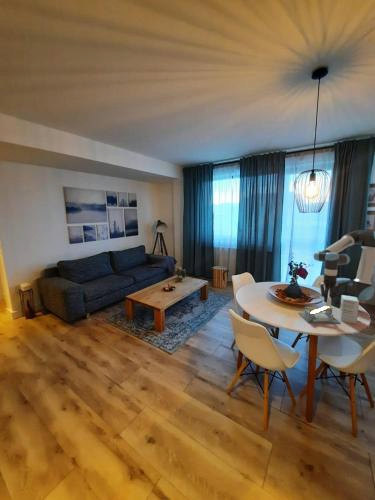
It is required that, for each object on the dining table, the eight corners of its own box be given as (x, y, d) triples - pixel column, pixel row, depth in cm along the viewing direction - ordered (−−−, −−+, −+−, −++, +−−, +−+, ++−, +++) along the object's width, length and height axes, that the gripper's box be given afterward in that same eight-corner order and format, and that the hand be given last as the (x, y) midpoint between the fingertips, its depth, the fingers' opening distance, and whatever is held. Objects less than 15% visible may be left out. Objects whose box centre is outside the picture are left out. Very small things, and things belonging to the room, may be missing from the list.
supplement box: (339, 315, 157) (341, 294, 155) (354, 318, 153) (356, 296, 150) (340, 321, 149) (342, 299, 147) (356, 324, 145) (359, 301, 142)
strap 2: (310, 316, 149) (310, 314, 148) (308, 314, 152) (307, 312, 152) (330, 308, 147) (330, 307, 146) (328, 306, 150) (327, 305, 150)
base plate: (327, 313, 161) (328, 304, 159) (340, 323, 146) (341, 313, 145) (298, 313, 162) (298, 304, 161) (307, 322, 148) (308, 313, 146)
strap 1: (326, 309, 158) (326, 308, 158) (328, 311, 155) (328, 309, 155) (306, 307, 159) (306, 306, 159) (308, 309, 156) (308, 308, 156)
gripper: (337, 273, 148) (334, 304, 151) (316, 273, 149) (314, 304, 152) (344, 276, 140) (341, 308, 144) (322, 276, 141) (320, 308, 145)
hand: (327, 306), depth 148 cm, fingers closed
